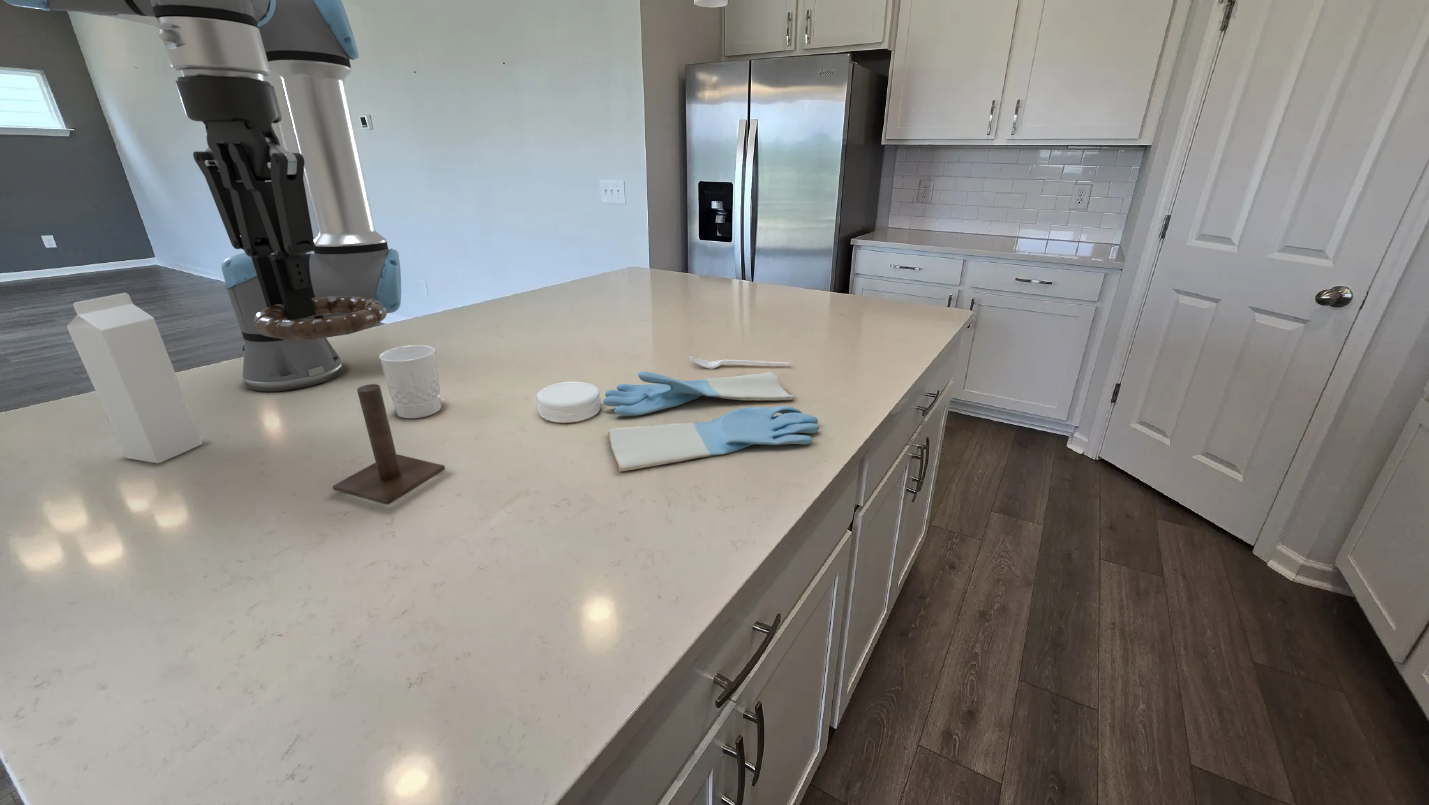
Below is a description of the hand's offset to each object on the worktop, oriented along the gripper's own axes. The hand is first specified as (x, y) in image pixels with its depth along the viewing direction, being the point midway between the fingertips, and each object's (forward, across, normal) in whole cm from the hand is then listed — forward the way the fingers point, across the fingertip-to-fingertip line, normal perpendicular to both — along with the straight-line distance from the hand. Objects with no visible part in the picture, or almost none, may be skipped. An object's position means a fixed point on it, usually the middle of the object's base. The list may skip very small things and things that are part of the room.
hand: (293, 315), depth 65 cm
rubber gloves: (+22, +35, +37) cm, 56 cm away
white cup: (+23, -9, +21) cm, 33 cm away
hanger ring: (0, +5, 0) cm, 5 cm away
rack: (+22, +6, +2) cm, 23 cm away
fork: (+23, +32, +62) cm, 73 cm away
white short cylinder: (+23, +14, +31) cm, 40 cm away
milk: (+23, -31, -3) cm, 39 cm away
